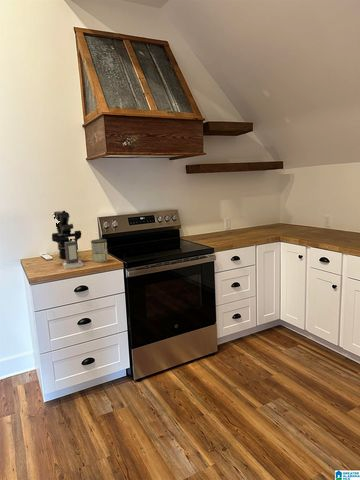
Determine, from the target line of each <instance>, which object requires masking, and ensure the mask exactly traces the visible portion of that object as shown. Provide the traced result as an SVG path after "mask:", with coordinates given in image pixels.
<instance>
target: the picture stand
mask: <svg viewBox="0 0 360 480" xmlns="http://www.w3.org/2000/svg"><path fill="white" fill-rule="evenodd" d="M62 265H63V266H62V267H63V268H64V269H65V270H68V269H69V270H70V269H76V268H83V267H84V262H83V261H81V259H80V258H78V263H71V264H66V260H65V261H62Z"/></svg>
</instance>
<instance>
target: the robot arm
mask: <svg viewBox="0 0 360 480" xmlns="http://www.w3.org/2000/svg"><path fill="white" fill-rule="evenodd" d="M53 215H55V217H54V219H55V218H56V219H57V220H58V221H60V222H59V223H58V224H57V223H56V227H57V228H56V232H54V233H52V234H51V241H52V242H55V243H57V250H58V251H59V252H58V254H59V257H58V258H60V259H62V260H64V259H66V254H65V245H64V242H70V241H71V240H70V238H72V237H73V238H74V241H76V242H77V243H78V240H80V239H81V238H82V231H81V230H74V233H71V232H72V229H74V224H73V223H70V224H69V221H70V214H69V212H67V211H66V210H61V211H54V212H53Z"/></svg>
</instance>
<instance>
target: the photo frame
mask: <svg viewBox="0 0 360 480" xmlns="http://www.w3.org/2000/svg"><path fill="white" fill-rule="evenodd" d="M77 243H78V241H77V242H76V241H75V240H70V242H64V245H65V254H66V258H65V261H66V264H71V263H78V260H79V255H78V253H79V252H78V244H77Z"/></svg>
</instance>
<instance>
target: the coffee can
mask: <svg viewBox="0 0 360 480" xmlns="http://www.w3.org/2000/svg"><path fill="white" fill-rule="evenodd" d="M90 244H91V253H92V262H93V263H104V261H105V262H107V261H108V260H109V256H108V254H109V253H108V247H107V246H108V243H107V239H105V238H97V239H92V240H90Z"/></svg>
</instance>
